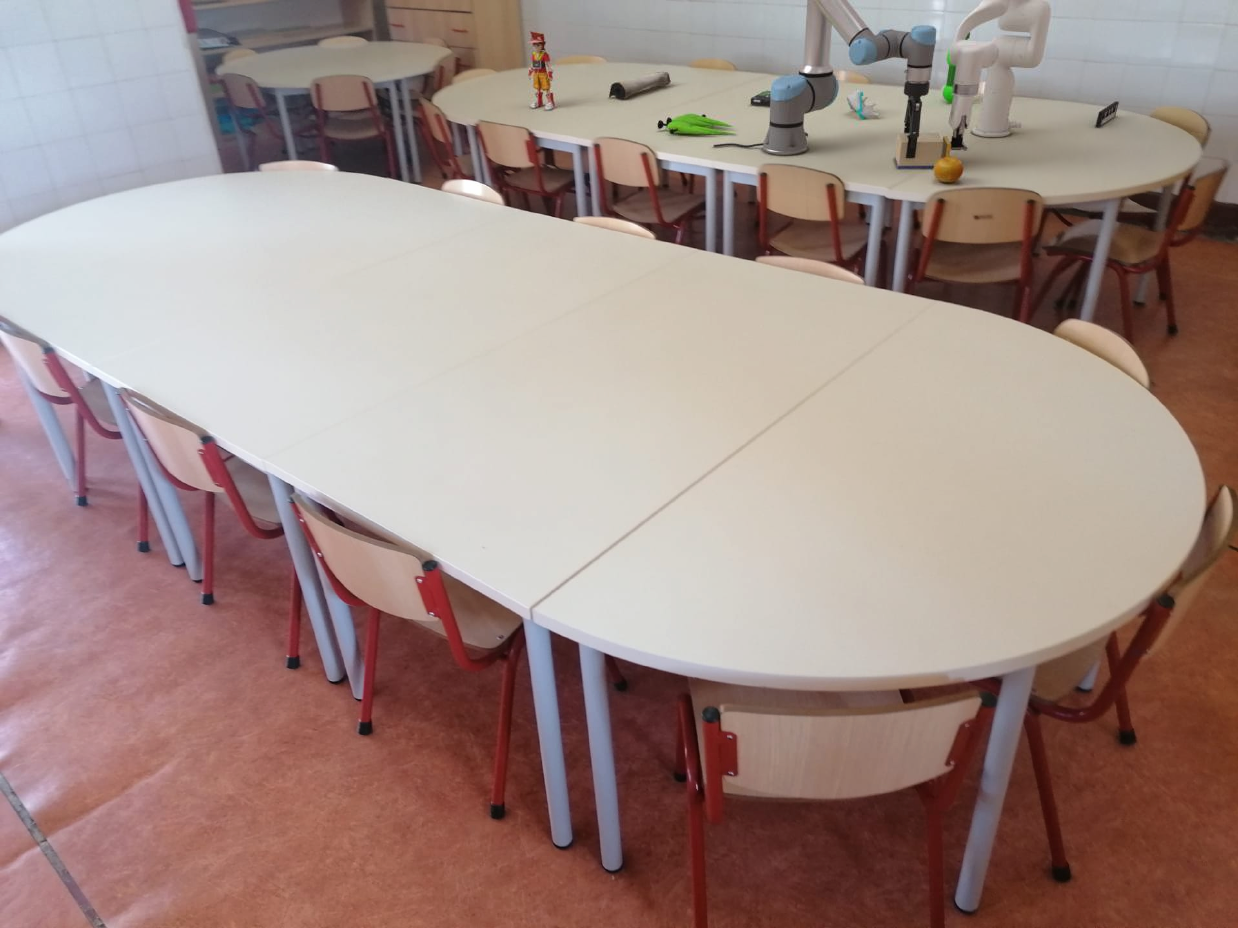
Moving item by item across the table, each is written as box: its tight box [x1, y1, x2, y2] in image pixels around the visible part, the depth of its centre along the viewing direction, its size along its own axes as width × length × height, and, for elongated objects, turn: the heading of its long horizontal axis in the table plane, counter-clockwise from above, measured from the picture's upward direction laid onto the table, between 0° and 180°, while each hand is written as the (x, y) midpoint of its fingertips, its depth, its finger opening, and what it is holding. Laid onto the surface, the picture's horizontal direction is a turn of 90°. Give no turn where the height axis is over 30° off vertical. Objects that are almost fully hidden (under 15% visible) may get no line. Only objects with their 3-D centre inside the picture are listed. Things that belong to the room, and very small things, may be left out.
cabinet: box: [894, 132, 943, 170], centre depth 291 cm, size 13×11×8 cm
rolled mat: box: [608, 71, 672, 101], centre depth 395 cm, size 30×9×10 cm
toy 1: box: [527, 31, 556, 111], centre depth 374 cm, size 12×9×30 cm
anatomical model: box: [846, 88, 881, 120], centre depth 344 cm, size 15×10×10 cm
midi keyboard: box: [1095, 100, 1120, 128], centre depth 320 cm, size 18×1×5 cm, turn 138°
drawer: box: [941, 135, 969, 159], centre depth 290 cm, size 17×9×6 cm, turn 81°
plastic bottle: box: [942, 31, 971, 104], centre depth 348 cm, size 10×10×25 cm
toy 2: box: [657, 113, 735, 135], centre depth 338 cm, size 28×5×30 cm
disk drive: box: [750, 90, 771, 107], centre depth 369 cm, size 10×3×15 cm
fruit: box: [933, 156, 965, 183], centre depth 275 cm, size 8×9×8 cm
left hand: (908, 153), depth 292 cm, fingers closed on cabinet, 11 cm apart
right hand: (955, 149), depth 289 cm, fingers closed
